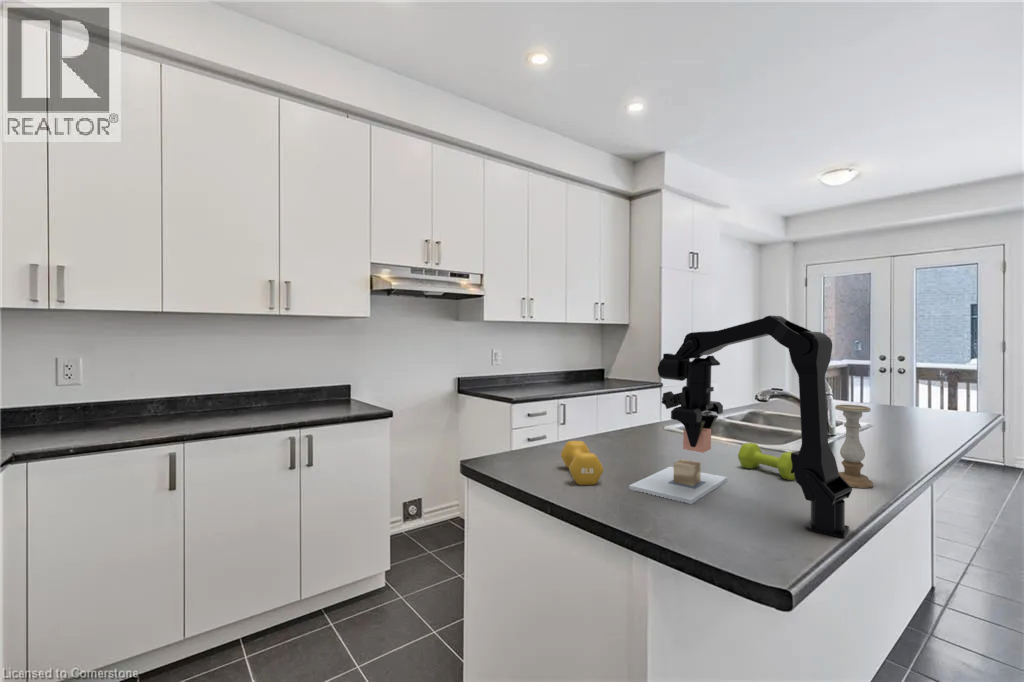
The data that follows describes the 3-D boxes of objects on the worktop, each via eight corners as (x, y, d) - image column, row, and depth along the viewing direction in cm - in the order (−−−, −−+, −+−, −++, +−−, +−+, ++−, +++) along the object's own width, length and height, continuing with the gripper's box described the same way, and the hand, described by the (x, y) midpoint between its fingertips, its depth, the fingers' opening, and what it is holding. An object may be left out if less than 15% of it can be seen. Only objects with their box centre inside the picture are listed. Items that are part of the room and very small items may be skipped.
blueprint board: (691, 504, 111) (691, 499, 111) (629, 489, 121) (629, 484, 121) (727, 481, 128) (727, 476, 128) (670, 469, 139) (670, 465, 139)
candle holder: (825, 481, 128) (825, 405, 128) (843, 476, 132) (844, 403, 132) (861, 490, 120) (861, 409, 120) (880, 485, 124) (880, 407, 124)
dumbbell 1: (559, 467, 143) (559, 439, 143) (589, 466, 143) (589, 439, 143) (570, 487, 124) (570, 455, 124) (604, 486, 124) (604, 455, 124)
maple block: (692, 486, 120) (692, 466, 120) (673, 482, 123) (673, 462, 123) (700, 481, 124) (700, 462, 124) (681, 478, 127) (681, 459, 127)
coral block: (703, 452, 116) (703, 432, 116) (683, 449, 119) (683, 429, 119) (710, 449, 120) (711, 429, 119) (691, 445, 123) (691, 426, 123)
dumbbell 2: (806, 479, 130) (807, 452, 130) (787, 483, 127) (787, 456, 127) (753, 464, 145) (753, 441, 145) (735, 467, 142) (735, 443, 142)
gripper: (682, 377, 131) (681, 433, 132) (651, 382, 117) (649, 445, 118) (724, 380, 124) (722, 440, 124) (696, 387, 110) (694, 454, 110)
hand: (697, 444), depth 119 cm, fingers closed on coral block, 5 cm apart
